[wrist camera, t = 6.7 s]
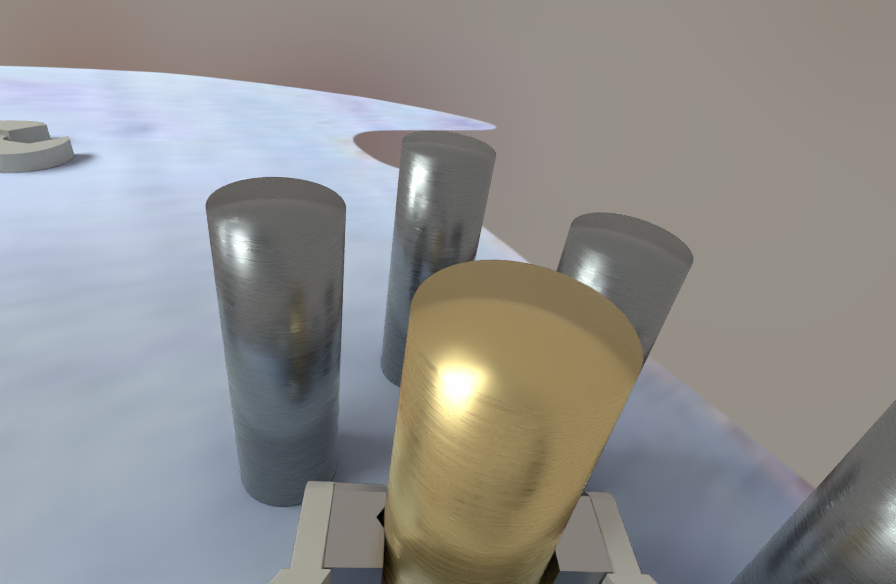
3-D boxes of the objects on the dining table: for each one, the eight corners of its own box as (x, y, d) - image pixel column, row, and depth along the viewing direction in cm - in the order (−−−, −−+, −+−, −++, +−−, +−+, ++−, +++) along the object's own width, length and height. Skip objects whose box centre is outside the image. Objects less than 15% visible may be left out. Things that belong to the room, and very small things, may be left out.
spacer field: (828, 753, 14) (1194, 545, 8) (143, 775, 11) (-25, 509, 6) (629, 356, 26) (716, 165, 20) (283, 331, 24) (273, 110, 18)
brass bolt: (262, 686, 13) (205, 296, 6) (418, 537, 17) (488, 192, 10) (423, 923, 10) (630, 688, 4) (567, 682, 14) (802, 343, 7)
